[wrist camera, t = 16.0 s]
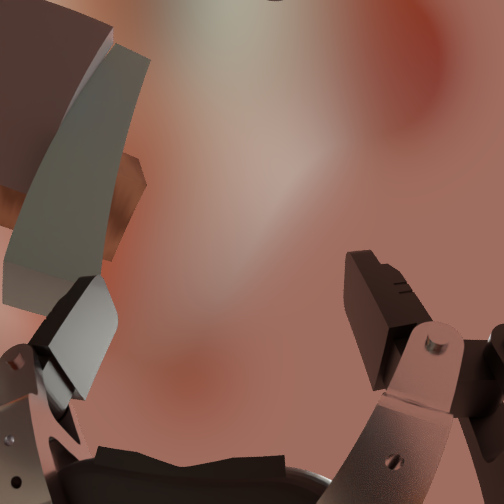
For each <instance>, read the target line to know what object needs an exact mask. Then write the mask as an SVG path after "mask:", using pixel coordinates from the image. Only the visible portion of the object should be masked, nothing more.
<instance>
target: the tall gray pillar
mask: <svg viewBox="0 0 504 504" xmlns="http://www.w3.org/2000/svg"><path fill="white" fill-rule="evenodd" d="M112 44H113V27H112V26H110V25H108V24H105V23H103V22H101V21H98V20H96V19H93V18H91V17H89V16H86V15H84V14H81V13H79V12H76V11H74V10H71V9H68V8H65V7H63V6H60V5H57V4H54V3H51V2H48V1H45V0H0V185H2V186H5V187H8V188H10V189H13V190H16V191H18V192H21V193H24V194H27V193H28V191H29V188H30V186H31V184H32V181H33V179H34V177H35V175H36V173H37V170H38V168H39V166H40V164H41V162H42V160H43V158H44V156H45V154H46V152H47V150H48V148H49V146H50V144H51V142H52V140H53V138H54V137H55V135H56V133H57V131H58V129H59V127H60V126H61V124H62V122H63V120H64V119H65V117H66V115H67V114H68V112H69V110H70V109H71V107H72V105H73V104H74V102H75V100H76V99H77V97H78V96H79V94H80V93H81V91H82V90H83V88H84V86H85V85H86V83H87V82H88V81H89V79H90V78H91V76H92V75H93V73H94V72H95V70H96V69H97V68H98V66H99V65H100V63H101V62H102V61H103V59H104V58H105V56H106V54H107V52H108V51H109V49H110V48H111V46H112Z"/></svg>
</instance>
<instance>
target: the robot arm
mask: <svg viewBox="0 0 504 504" xmlns="http://www.w3.org/2000/svg"><path fill="white" fill-rule="evenodd" d="M269 1H281V0H269ZM344 307H345V311H346V314H347V317H348V320H349V322H350V325H351V328H352V330H353V333H354V336H355V339H356V342H357V345H358V348H359V350H360V353H361V356H362V359H363V362H364V365H365V368H366V371H367V374H368V377H369V380H370V383H371V386H372V389H373V391H376V390H381V389H386V392H385V393H383V394H382V396H381V398H380V400H379V401H378V403H377V405H376V407H375V409H374V411H373V413H372V415H371V417H370V419H369V420H368V422H367V424H366V426H365V428H364V430H363V431H362V433H361V435H360V437H359V438H358V440H357V442H356V444H355V445H354V447H353V449H352V450H351V452H350V454H349V455H348V457H347V459H346V460H345V462H344V463H343V465H342V466H341V468H340V470H339V471H338V473H337V474H336V476H335V477H334V479H333V480H330V479H327V478H325V477H323V476H321V475H319V474H316V473H312V472H310V471H307V470H302V469H298V468H292V467H285V457H284V455H279V456H264V457H242V458H241V457H240V458H229V459H225V460H221V461H216V462H210V463H205V464H200V465H195V466H189V467H178V466H174V465H172V464H168V463H166V462H163V461H159V460H157V459H154V458H151V457H149V456H146V455H143V454H140V453H138V452H132V451H125V450H119V449H113V448H107V447H101V446H98V449H97V453H96V456H95V458H93V456H92V455H91V453H90V451H89V449H88V447H87V444H86V441H85V438H84V436H83V433H82V430H81V427H80V424H79V421H78V418H77V415H76V412H75V409H74V407H73V406H72V404H71V403H70V402H69V401H70V399H78V400H85V399H86V397H87V394H88V392H89V390H90V387H91V385H92V383H93V380H94V378H95V376H96V373H97V371H98V369H99V367H100V364H101V362H102V360H103V358H104V355H105V353H106V351H107V348H108V347H109V344H110V342H111V340H112V338H113V336H114V334H115V331H116V330H117V326H118V315H117V312H116V309H115V307H114V304H113V302H112V299H111V297H110V294H109V291H108V289H107V286H106V284H105V281H104V279H103V278H102V277H101V276H100V275H93V276H81V277H79V278H78V279H77V281H76V282H75V283H74V285H73V286H72V287H71V288H70V290H69V291H68V292H67V294H66V295H64V296H63V297H62V298H61V299H59V300H58V302H57V303H56V305H55V306H54V307H53V309H52V311H50V313H49V314H48V315H47V317H46V319H45V320H44V321H43V322H42V324H41V326H40V327H39V328H38V330H37V331H36V333H35V334H34V335H33V337H32V338H31V340H30V341H29V343H28V344H18V345H16V346H13V347H12V348H10V349H9V350H7V351H6V352H5V353H4V354H3V355H2V357H1V358H0V504H422V503H423V501H424V499H425V497H426V494H427V492H428V490H429V487H430V485H431V483H432V480H433V478H434V475H435V473H436V470H437V468H438V465H439V462H440V459H441V457H442V454H443V451H444V448H445V445H446V442H447V439H448V436H449V433H450V429H451V426H452V422H453V418H458V419H459V421H460V424H461V427H462V430H463V433H464V436H465V438H466V441H467V444H468V447H469V450H470V453H471V456H472V460H473V463H474V466H475V469H476V473H477V476H478V480H479V483H480V487H481V491H482V495H483V498H484V502H485V504H504V403H503V400H504V324H500V325H498V326H496V327H495V328H494V329H493V331H492V333H491V335H490V337H489V339H488V340H463V338H462V336H461V335H460V333H459V332H458V331H457V330H456V329H455V328H453V327H452V326H450V325H448V324H445V323H441V322H435V321H433V320H432V319H431V317H430V316H429V314H428V313H427V311H426V310H425V308H424V306H423V305H422V303H421V302H420V300H419V299H418V297H417V296H416V295H415V293H414V292H412V289H411V287H410V286H409V284H407V282H406V280H405V279H404V277H403V276H402V274H401V273H400V272H399V271H398V270H396V269H395V268H393V267H392V266H390V265H389V264H380V263H379V261H378V260H377V258H376V257H375V255H374V254H373V252H372V251H371V250H363V251H353V252H347V254H346V260H345V279H344Z"/></svg>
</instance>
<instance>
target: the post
mask: <svg viewBox="0 0 504 504" xmlns="http://www.w3.org/2000/svg"><path fill="white" fill-rule="evenodd" d="M146 186H147V184H146V181H145V178H144V175H143V172H142V169H141V166H140V162H139V159H137V158H135V157H133V156H130V155H128V154H126V153H123V152H122V156H121V160H120V165H119V169H118V173H117V178H116V183H115V187H114V192H113V197H112V202H111V208H110V213H109V219H108V225H107V231H106V237H105V244H104V251H103V258H102V259H104V260H108V261H112V259H113V257H114V254H115V252H116V250H117V247H118V245H119V243H120V241H121V238H122V236H123V234H124V232H125V229H126V227H127V225H128V223H129V221H130V218H131V216H132V214H133V212H134V210H135V208H136V206H137V204H138V202H139V200H140V198H141V196H142V194H143V191H144V189H145V188H146ZM26 195H27V194H24V193H21V192H18V191H16V190H13V189H10V188H8V187H5V186H2V185H0V225H1V226H3V227H6V228H9V229H12V230H13V229H14V227H15V224H16V221H17V218H18V216H19V213H20V210H21V208H22V205H23V203H24V200H25V198H26Z"/></svg>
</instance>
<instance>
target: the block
mask: <svg viewBox="0 0 504 504" xmlns="http://www.w3.org/2000/svg"><path fill="white" fill-rule="evenodd" d="M150 61H151V60H150V59H148V58H146V57H144V56H142V55H140V54H138V53H136V52H133V51H132V50H129V49H127V48H125V47H123V46H121V45H119V44H115V45H114V46H113V48H112V49H111V50H110V51H109V53H108V54H107V55H106V57H105V58H104V59H103V61H102V62H101V63H100V65H99V66H98V68H97V69H96V70H95V72H94V73H93V75H92V76H91V78H90V79H89V81H88V82H87V83H86V85H85V86H84V88H83V90H82V91H81V93H80V94H79V96H78V97H77V99H76V100H75V102H74V104H73V105H72V107H71V109H70V110H69V112H68V114H67V115H66V117H65V119H64V120H63V122H62V124H61V126H60V127H59V129H58V131H57V133H56V135H55V137H54V138H53V140H52V142H51V144H50V146H49V148H48V150H47V152H46V154H45V156H44V158H43V160H42V162H41V164H40V166H39V168H38V170H37V173H36V175H35V177H34V179H33V181H32V184H31V186H30V188H29V191H28V193H27V195H26V198H25V200H24V203H23V205H22V208H21V210H20V213H19V216H18V218H17V221H16V224H15V227H14V229H13V232H12V235H11V238H10V242H9V244H8V248H7V251H6V254H5V257H4V263H3V304H6V305H9V306H12V307H16V308H19V309H22V310H26V311H29V312H33V313H36V314H40V315H44V316H47V315H48V314H49V313H50V311H52V309H53V307H54V306H55V305H56V303H57V302H58V300H59V299H61V298H62V297H63V296H64V295H66V294H67V292H68V291H69V290H70V288H71V287H72V286H73V285H74V283H75V282H76V281H77V279H78V278H79V277H81V276H93V275H101V266H102V258H103V251H104V244H105V237H106V231H107V225H108V219H109V213H110V208H111V202H112V197H113V192H114V187H115V183H116V178H117V173H118V169H119V165H120V160H121V156H122V152H123V148H124V144H125V141H126V136H127V133H128V129H129V126H130V122H131V119H132V115H133V112H134V109H135V105H136V102H137V99H138V96H139V93H140V90H141V87H142V83H143V81H144V78H145V75H146V72H147V69H148V66H149V64H150Z"/></svg>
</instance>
